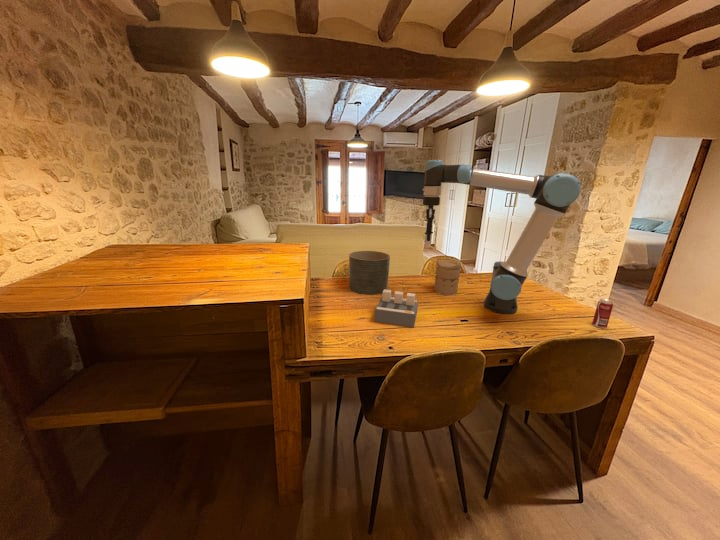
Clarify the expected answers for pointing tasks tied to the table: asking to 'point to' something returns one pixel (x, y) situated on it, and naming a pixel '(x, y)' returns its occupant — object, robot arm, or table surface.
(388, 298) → the block
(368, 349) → the table surface
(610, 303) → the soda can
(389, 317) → the switch bank
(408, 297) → the slider right
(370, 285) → the planter
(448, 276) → the container
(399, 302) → the slider mid
